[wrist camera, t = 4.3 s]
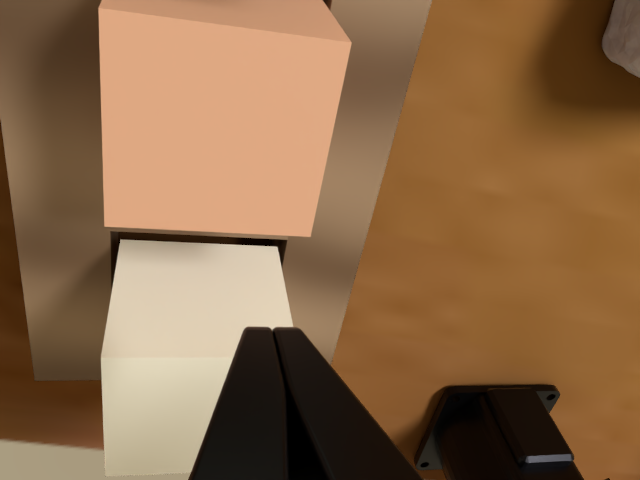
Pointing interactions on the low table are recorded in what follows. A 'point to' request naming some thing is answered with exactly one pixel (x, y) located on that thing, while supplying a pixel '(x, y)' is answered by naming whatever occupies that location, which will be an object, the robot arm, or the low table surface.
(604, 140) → the low table surface
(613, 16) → the stone block
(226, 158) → the peach cube
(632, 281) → the low table surface
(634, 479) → the low table surface
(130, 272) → the cream cube
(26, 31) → the walnut board
